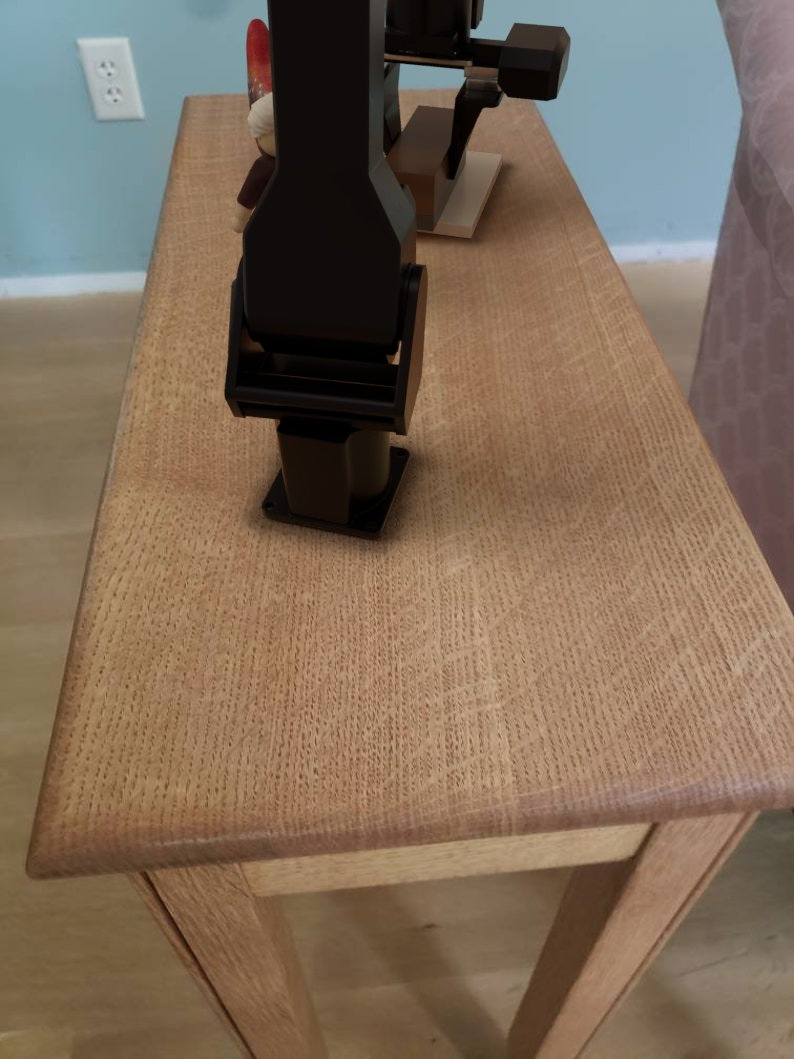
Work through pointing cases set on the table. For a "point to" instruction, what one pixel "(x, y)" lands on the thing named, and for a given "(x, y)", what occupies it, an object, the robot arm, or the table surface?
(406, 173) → the tall brown wooden block
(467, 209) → the tile
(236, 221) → the grandmother figurine
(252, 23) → the red tapered piece
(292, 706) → the table surface
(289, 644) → the table surface
